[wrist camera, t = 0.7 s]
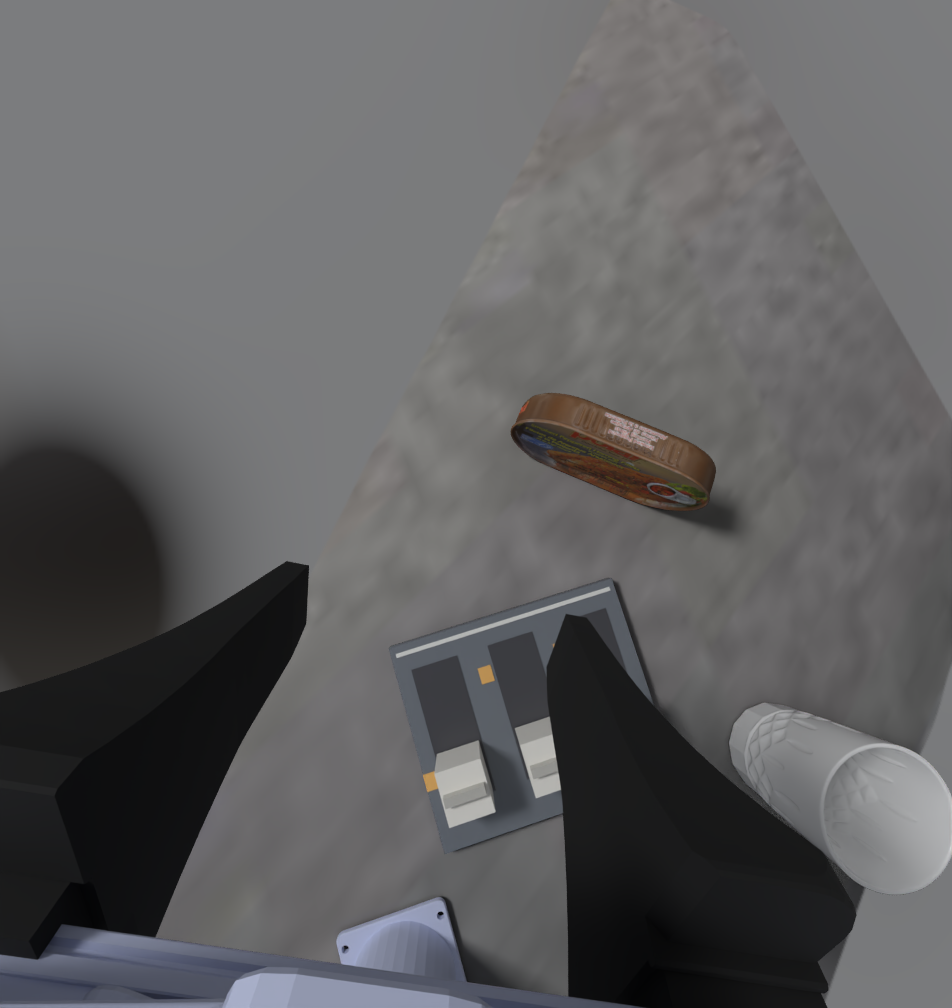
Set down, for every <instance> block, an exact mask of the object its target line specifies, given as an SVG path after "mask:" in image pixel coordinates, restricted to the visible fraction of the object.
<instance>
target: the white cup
mask: <svg viewBox="0 0 952 1008" xmlns="http://www.w3.org/2000/svg"><path fill="white" fill-rule="evenodd" d="M729 747H730V753H731V759H732V764H733V766H734V767H735V769H736V770H737V772H738V773H739V775H740V776H741V778H742V779H743V781H744V782H745V783H746V784H747V785H748V786H749V787H751V788H752V789H753V790H754V791H755V792H756V793H758V794H759V795H760V796H761V797H762V798H763V799H764V800H765V801H766V802H767V803H768V804H769V806H770V807H771V808H773V809H774V810H775V811H776V812H777V813H778V814H779V815H781V816H782V817H783V818H784V819H785V820H786V821H787V822H788V823H789V824H790V825H791V826H792V827H793V828H794V829H796V830H797V831H798V832H799V833H800V834H801V835H802V836H804V837H805V838H806V839H807V840H808V841H809V842H810V843H812V844H813V845H814V846H816V847H817V848H819V849H820V850H821V851H822V852H823V853H824V855H825V856H826V857H828V858H829V859H830V860H831V861H832V862H833V863H834V864H836V865H837V866H838V867H839V868H840V869H841V870H842V871H843V872H845V873H846V874H847V875H848V876H849V877H850V878H852V879H853V880H854V881H855V882H857V883H858V884H860V885H862V886H864V887H865V888H867V889H870V890H873V891H875V892H878V893H882V894H888V895H904V894H909V893H913V892H916V891H919V890H921V889H923V888H925V887H927V886H928V885H930V884H931V883H932V882H934V881H935V880H936V879H937V878H938V877H939V876H940V875H941V874H942V873H943V871H944V870H945V868H946V867H947V865H948V863H949V862H950V860H951V857H952V796H951V793H950V791H949V789H948V787H947V785H946V783H945V782H944V780H943V778H942V777H941V776H940V774H939V773H938V772H937V771H936V769H935V768H934V767H933V766H932V765H931V764H930V763H929V762H928V761H926V760H925V759H924V758H923V757H921V756H920V755H918V754H917V753H915V752H913V751H911V750H909V749H907V748H904V747H902V746H899V745H896V744H893V743H891V742H888V741H885V740H882V739H880V738H877V737H874V736H872V735H869V734H866V733H864V732H861V731H858V730H855V729H853V728H850V727H847V726H845V725H842V724H839V723H836V722H833V721H830V720H827V719H824V718H821V717H819V716H816V715H813V714H809V713H806V712H802V711H798V710H796V709H793V708H791V707H788V706H785V705H782V704H773V703H761V704H759V705H756V706H753V707H751V708H748V709H746V710H745V711H744V712H743V714H742V715H741V716H740V717H739V718H738V719H737V721H736V722H735V723H734V725H733V729H732V733H731V736H730V740H729Z"/></svg>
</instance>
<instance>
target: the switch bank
mask: <svg viewBox="0 0 952 1008" xmlns="http://www.w3.org/2000/svg"><path fill="white" fill-rule="evenodd" d="M566 614H570V615H575V616H581V617H586V618H588V620H589V621H590V622H591V624H592V625H593V627H594V628H595V629H596V631H597V632H598V634H599V635H600V636H601V638H602V639H603V641H604V642H605V644H606V645H607V646H608V648H609V649H610V651H611V652H612V653H613V655H614V656H615V658H616V659H617V660H618V662H619V663H620V664H621V666H622V667H623V668H624V670H625V671H626V672H627V674H628V675H629V676H630V678H631V679H632V680H633V681H634V683H635V684H636V685H637V686H638V688H639V689H640V690H641V691H642V692H643V694H644V695H645V696H646V697H647V698H648V700H649V701H650V702H651V703H652V704H653V701H652V698H651V695H650V692H649V689H648V686H647V683H646V680H645V677H644V674H643V671H642V668H641V665H640V662H639V659H638V656H637V653H636V650H635V647H634V644H633V641H632V638H631V635H630V632H629V629H628V626H627V623H626V620H625V617H624V614H623V611H622V608H621V605H620V602H619V599H618V596H617V593H616V590H615V587H614V584H613V581H612V578H606V579H603V580H599V581H596V582H593V583H590V584H587V585H584V586H580V587H577V588H574V589H571V590H568V591H564V592H561V593H558V594H555V595H552V596H549V597H545V598H542V599H539V600H536V601H533V602H530V603H526V604H523V605H520V606H517V607H514V608H510V609H507V610H504V611H501V612H498V613H495V614H491V615H488V616H485V617H482V618H479V619H475V620H472V621H469V622H466V623H463V624H460V625H456V626H453V627H450V628H447V629H444V630H441V631H437V632H434V633H431V634H428V635H425V636H421V637H418V638H415V639H412V640H409V641H406V642H402V643H399V644H396V645H393V646H390V648H389V651H390V655H391V659H392V662H393V666H394V670H395V673H396V677H397V681H398V684H399V688H400V692H401V695H402V699H403V703H404V706H405V710H406V714H407V717H408V721H409V725H410V728H411V732H412V736H413V739H414V743H415V747H416V751H417V754H418V758H419V762H420V765H421V769H422V773H423V777H424V781H425V784H426V788H427V792H428V795H429V798H430V802H431V806H432V809H433V813H434V817H435V820H436V824H437V828H438V831H439V835H440V839H441V842H442V846H443V850H444V853H445V854H447V853H449V852H452V851H455V850H458V849H461V848H464V847H467V846H470V845H472V844H475V843H478V842H481V841H484V840H487V839H490V838H493V837H495V836H498V835H501V834H504V833H507V832H510V831H513V830H516V829H518V828H521V827H524V826H527V825H530V824H533V823H536V822H539V821H541V820H544V819H547V818H550V817H553V816H556V815H559V814H562V813H563V805H562V795H561V790H559V791H556V792H553V793H550V794H547V795H544V796H541V797H538V798H536V797H535V794H534V791H533V787H532V784H531V781H530V778H529V775H528V771H527V768H526V764H525V761H524V758H523V754H522V751H521V748H520V744H519V741H518V738H517V734H516V731H515V728H517V727H520V726H523V725H526V724H529V723H532V722H535V721H538V720H541V719H544V718H547V717H550V716H549V709H548V702H547V670H546V667H547V664H548V661H549V659H550V656H551V653H552V650H553V648H554V645H555V642H556V639H557V637H558V634H559V631H560V628H561V626H562V623H563V620H564V617H565V615H566ZM653 706H654V704H653ZM478 740H479V743H480V747H481V750H482V754H483V757H484V761H485V764H486V767H487V771H488V774H489V778H490V781H491V785H492V788H493V795H494V803H495V810H496V812H495V813H492V814H489V815H486V816H483V817H480V818H477V819H475V820H472V821H469V822H466V823H463V824H460V825H457V826H454V827H451V828H449V826H448V822H447V818H446V815H445V811H444V807H443V804H442V800H441V797H440V793H439V789H438V786H437V782H436V778H435V775H434V772H435V765H436V757H437V754H439V753H442V752H445V751H448V750H451V749H454V748H457V747H460V746H463V745H466V744H469V743H472V742H475V741H478Z"/></svg>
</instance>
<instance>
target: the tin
mask: <svg viewBox="0 0 952 1008" xmlns="http://www.w3.org/2000/svg"><path fill="white" fill-rule="evenodd" d="M511 437H512V439H513V441H514V442H515V443H516V444H517V446H518V447H519V448H520V449H521V450H523V451H524V452H525V453H526V454H528V455H529V456H531V457H532V458H534V459H535V460H537V461H539V462H541V463H543V464H545V465H547V466H550V467H552V468H554V469H557V470H559V471H561V472H564V473H566V474H569V475H571V476H574V477H576V478H578V479H581V480H583V481H586V482H588V483H590V484H593V485H595V486H598V487H600V488H602V489H604V490H607V491H609V492H612V493H614V494H617V495H619V496H621V497H624V498H626V499H629V500H631V501H634V502H637V503H639V504H643V505H647V506H650V507H654V508H659V509H665V510H675V511H690V510H697V509H700V508H703V507H705V506H706V505H707V504H708V502H709V495H710V492H711V488H712V485H713V482H714V478H715V474H716V467H715V464H714V462H713V460H712V459H711V458H710V456H709V455H708V454H706V453H705V452H704V451H703V450H701V449H700V448H698V447H697V446H695V445H694V444H692V443H690V442H688V441H686V440H683V439H681V438H679V437H676V436H674V435H671V434H669V433H667V432H664V431H662V430H659V429H657V428H654V427H652V426H650V425H647V424H645V423H642V422H640V421H637V420H635V419H633V418H630V417H628V416H625V415H623V414H620V413H618V412H615V411H613V410H610V409H608V408H605V407H603V406H600V405H598V404H595V403H593V402H590V401H588V400H585V399H582V398H579V397H575V396H571V395H566V394H560V393H545V394H539V395H535V396H533V397H531V398H530V399H529V400H528V401H527V402H526V403H525V404H524V405H523V407H522V409H521V411H520V413H519V416H518V418H517V421H516V423H515V424H514V425H513V426H512V428H511Z"/></svg>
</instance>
